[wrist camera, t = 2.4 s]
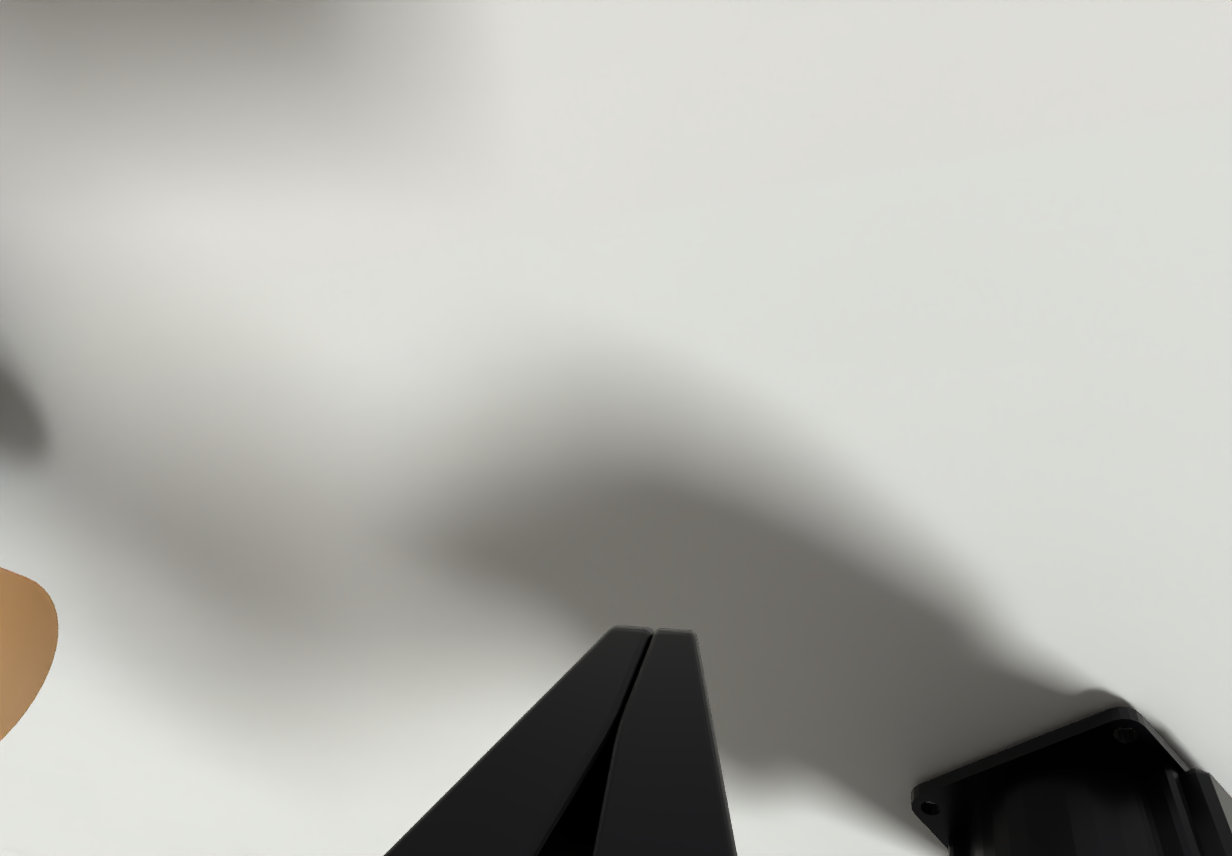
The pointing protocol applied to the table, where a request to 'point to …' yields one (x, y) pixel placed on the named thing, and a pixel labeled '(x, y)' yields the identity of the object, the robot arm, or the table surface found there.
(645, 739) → the robot arm
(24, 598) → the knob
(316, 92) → the table surface
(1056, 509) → the table surface
